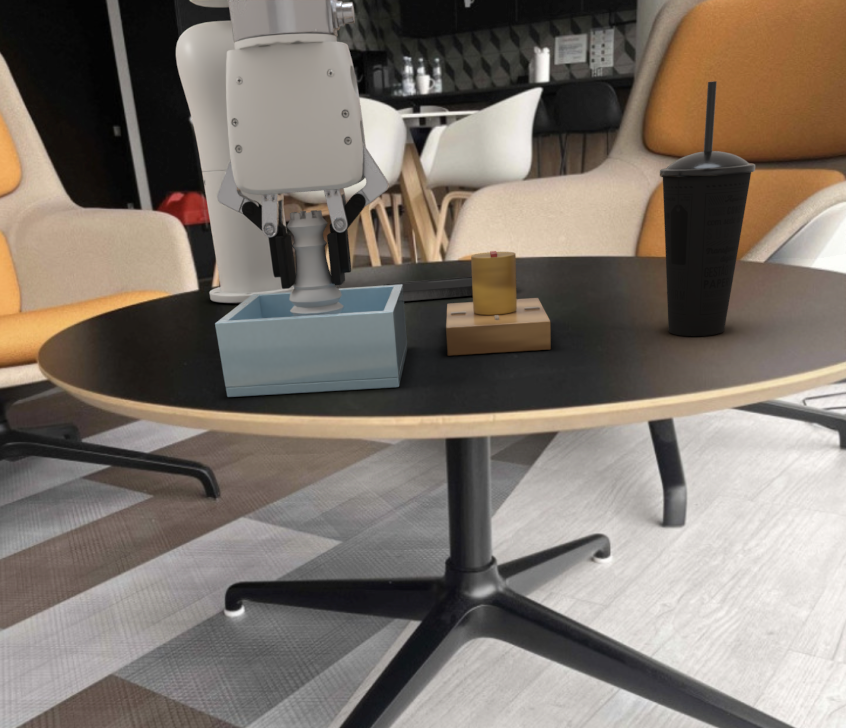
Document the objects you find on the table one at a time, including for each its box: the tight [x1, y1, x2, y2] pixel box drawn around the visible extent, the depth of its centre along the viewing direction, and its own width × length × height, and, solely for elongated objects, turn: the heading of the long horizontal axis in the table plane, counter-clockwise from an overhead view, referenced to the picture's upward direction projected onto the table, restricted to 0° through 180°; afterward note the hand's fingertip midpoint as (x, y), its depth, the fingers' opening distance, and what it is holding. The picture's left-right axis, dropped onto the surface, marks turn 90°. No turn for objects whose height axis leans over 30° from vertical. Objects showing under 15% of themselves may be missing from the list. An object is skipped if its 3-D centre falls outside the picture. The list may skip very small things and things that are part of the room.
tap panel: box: [445, 297, 552, 357], centre depth 81 cm, size 12×9×3 cm
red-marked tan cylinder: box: [470, 250, 518, 315], centre depth 79 cm, size 4×4×5 cm
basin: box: [214, 284, 408, 398], centre depth 73 cm, size 14×14×6 cm
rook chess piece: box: [286, 209, 344, 316], centre depth 71 cm, size 4×4×8 cm
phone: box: [382, 276, 473, 302], centre depth 107 cm, size 8×1×15 cm
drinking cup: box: [659, 80, 756, 337], centre depth 75 cm, size 8×8×20 cm
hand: (313, 282), depth 71 cm, fingers closed on rook chess piece, 3 cm apart
